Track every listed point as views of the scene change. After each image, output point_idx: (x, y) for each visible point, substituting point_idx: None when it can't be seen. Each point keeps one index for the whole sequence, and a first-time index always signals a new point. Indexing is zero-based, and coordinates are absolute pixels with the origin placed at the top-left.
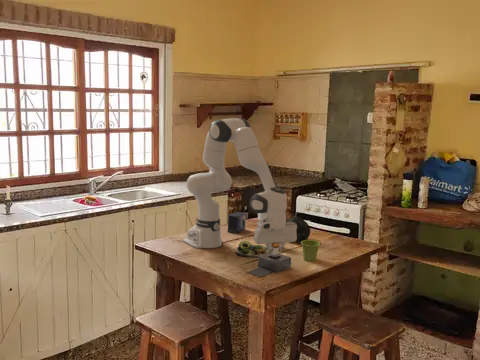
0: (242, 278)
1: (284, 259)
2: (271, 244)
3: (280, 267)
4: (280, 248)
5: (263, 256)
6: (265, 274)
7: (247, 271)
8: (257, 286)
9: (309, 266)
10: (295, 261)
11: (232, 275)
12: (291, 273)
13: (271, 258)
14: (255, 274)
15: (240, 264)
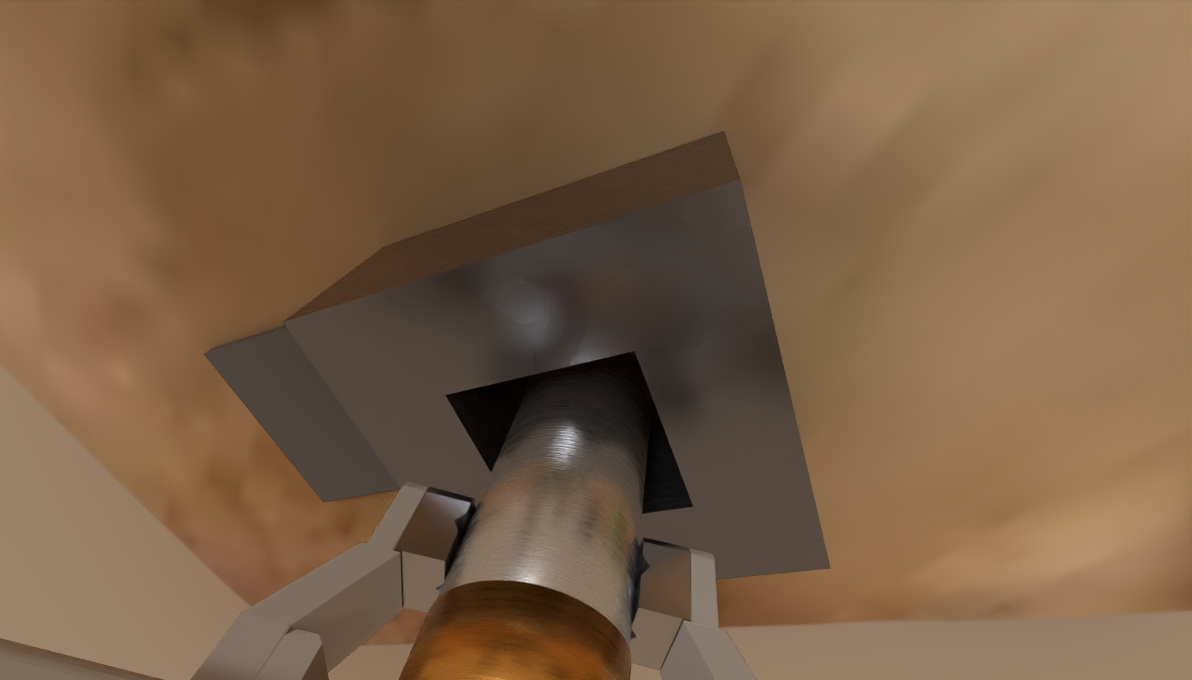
0: (155, 446)
1: None
2: (401, 673)
3: None
4: (647, 657)
5: (384, 355)
6: (387, 490)
7: (208, 353)
8: (265, 594)
9: (1057, 515)
10: (1095, 293)
11: (49, 350)
12: None
13: (486, 477)
14: (284, 451)
15: (134, 31)
